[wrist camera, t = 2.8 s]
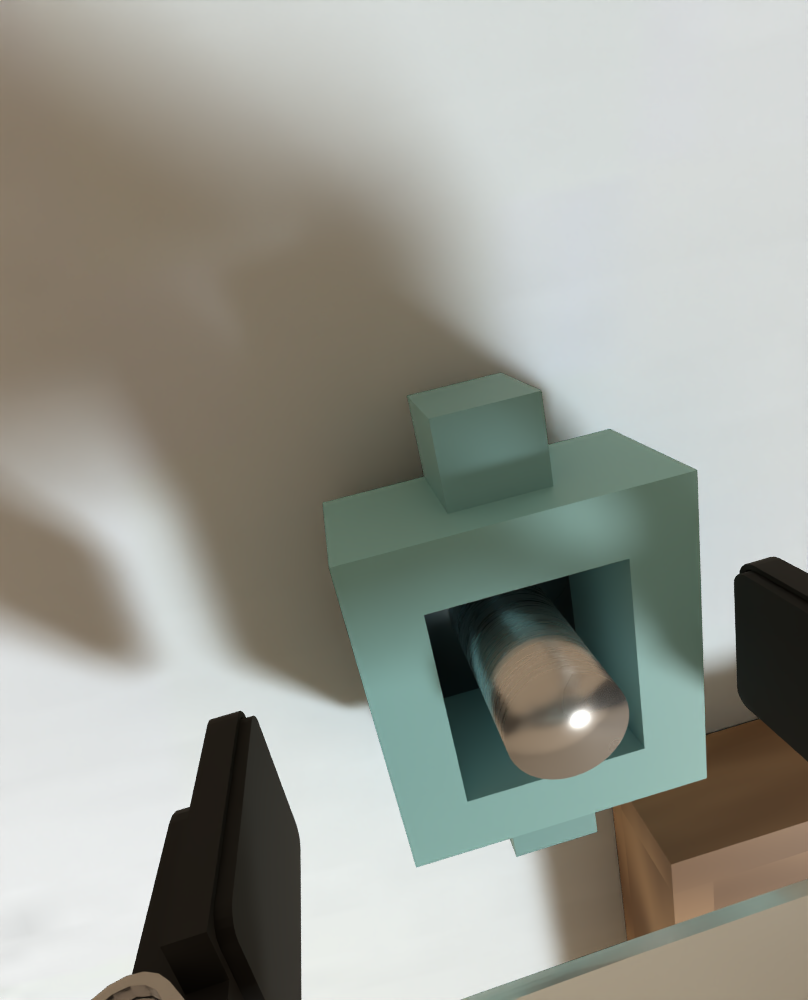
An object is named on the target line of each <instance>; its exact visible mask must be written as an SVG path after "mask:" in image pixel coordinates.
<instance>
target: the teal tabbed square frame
mask: <svg viewBox="0 0 808 1000" xmlns="http://www.w3.org/2000/svg"><path fill="white" fill-rule="evenodd" d="M407 398H408V403H409V408H410V412H411V417H412V422H413V426H414V431H415V436H416V441H417V445H418V450H419V455H420V460H421V464H422V469H423V474H424V477H421V478H417V479H413V480H409V481H405V482H401V483H397V484H393V485H390V486H386V487H382V488H378V489H374V490H370V491H366V492H362V493H358V494H355V495H351V496H347V497H343V498H339V499H335V500H331V501H327V502H323V513H324V523H325V533H326V544H327V554H328V565H329V570H330V574H331V577H332V581H333V584H334V587H335V591H336V594H337V598H338V601H339V605H340V608H341V611H342V615H343V618H344V622H345V625H346V629H347V632H348V635H349V639H350V642H351V646H352V649H353V653H354V656H355V659H356V663H357V666H358V670H359V673H360V676H361V680H362V683H363V687H364V690H365V694H366V697H367V700H368V704H369V707H370V711H371V714H372V718H373V721H374V724H375V728H376V731H377V735H378V738H379V742H380V745H381V748H382V752H383V755H384V759H385V762H386V766H387V769H388V772H389V776H390V779H391V783H392V786H393V790H394V793H395V796H396V800H397V803H398V807H399V810H400V813H401V817H402V820H403V824H404V827H405V831H406V834H407V837H408V841H409V844H410V848H411V851H412V855H413V858H414V861H415V865H416V867H419V866H423V865H426V864H429V863H432V862H436V861H439V860H442V859H445V858H449V857H452V856H455V855H458V854H462V853H465V852H468V851H471V850H475V849H478V848H481V847H485V846H488V845H491V844H494V843H498V842H501V841H504V840H507V839H510V841H511V843H512V846H513V849H514V851H515V854H516V857H518V856H521V855H524V854H527V853H531V852H534V851H537V850H540V849H544V848H547V847H550V846H553V845H556V844H560V843H563V842H566V841H569V840H573V839H576V838H579V837H582V836H586V835H589V834H592V833H595V832H597V825H596V817H595V812H598V811H602V810H605V809H608V808H611V807H615V806H618V805H621V804H624V803H628V802H631V801H634V800H638V799H641V798H644V797H647V796H651V795H654V794H657V793H660V792H664V791H667V790H670V789H673V788H677V787H680V786H683V785H686V784H690V783H693V782H696V781H699V780H703V779H706V778H707V768H706V735H705V703H704V671H703V639H702V606H701V574H700V542H699V509H698V477H697V470H696V469H694V468H692V467H690V466H687V465H685V464H683V463H681V462H679V461H677V460H675V459H673V458H671V457H668V456H666V455H664V454H662V453H660V452H658V451H656V450H654V449H652V448H649V447H647V446H645V445H643V444H641V443H639V442H637V441H635V440H632V439H630V438H628V437H626V436H624V435H622V434H620V433H618V432H616V431H613V430H611V429H608V430H604V431H600V432H596V433H592V434H588V435H584V436H580V437H576V438H573V439H569V440H565V441H561V442H557V443H553V444H549V445H548V439H547V431H546V423H545V415H544V407H543V399H542V392H541V390H539V389H537V388H534V387H532V386H530V385H528V384H525V383H523V382H521V381H519V380H516V379H514V378H512V377H510V376H508V375H505V374H503V373H497V374H493V375H489V376H485V377H481V378H477V379H473V380H469V381H465V382H461V383H457V384H453V385H449V386H445V387H440V388H436V389H432V390H428V391H424V392H420V393H416V394H412V395H408V396H407ZM568 575H569V582H570V591H571V599H572V607H573V615H574V623H575V631H576V633H577V635H578V636H579V637H580V639H581V640H582V641H583V642H584V644H585V645H586V646H587V647H588V649H589V650H590V651H591V653H592V654H593V655H594V656H595V658H596V659H597V660H598V661H599V663H600V664H601V665H602V667H603V668H604V669H605V670H606V672H607V673H608V674H609V675H610V677H611V678H612V679H613V681H614V682H615V683H616V684H617V686H618V687H619V688H620V689H621V691H622V692H623V694H624V696H625V697H626V700H627V703H628V708H629V721H628V726H627V729H626V732H625V734H624V737H623V739H622V740H621V742H620V744H619V745H618V746H617V748H616V749H615V750H614V751H613V753H612V754H611V755H610V756H609V757H608V758H606V759H605V760H604V761H603V762H602V763H600V764H599V765H597V766H596V767H594V768H593V769H591V770H589V771H587V772H585V773H583V774H580V775H577V776H574V777H570V778H565V779H555V780H550V779H541V778H537V777H534V776H531V775H529V774H527V773H525V772H523V771H522V770H520V769H519V768H518V767H517V766H516V765H515V764H514V763H513V761H512V760H511V758H510V756H509V754H508V752H507V750H506V747H505V745H504V743H503V741H502V738H501V736H500V734H499V732H498V729H497V727H496V725H495V722H494V720H493V718H492V716H491V713H490V711H489V709H488V706H487V704H486V702H485V700H484V697H483V695H482V693H481V691H480V688H478V689H474V690H471V691H467V692H464V693H460V694H457V695H453V696H450V697H446V698H443V695H442V691H441V686H440V682H439V678H438V674H437V669H436V665H435V661H434V656H433V652H432V648H431V644H430V639H429V635H428V631H427V626H426V622H425V618H424V615H426V614H429V613H433V612H437V611H440V610H444V609H448V608H451V607H455V606H459V605H462V604H466V603H469V602H473V601H477V600H480V599H484V598H488V597H491V596H495V595H499V594H502V593H506V592H509V591H513V590H517V589H520V588H524V587H528V586H531V585H535V584H539V583H542V582H546V581H549V580H553V579H557V578H560V577H564V576H568Z"/></svg>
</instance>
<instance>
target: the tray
mask: <svg viewBox="0 0 808 1000" xmlns="http://www.w3.org/2000/svg"><path fill="white" fill-rule="evenodd" d="M706 768H707V778H706V779H703V780H699V781H696V782H693V783H690V784H686V785H683V786H680V787H677V788H673V789H670V790H667V791H664V792H660V793H657V794H654V795H651V796H647V797H644V798H641V799H638V800H634V801H631V802H628V803H624V804H621V805H618V806H615V807H613V816H614V825H615V834H616V843H617V852H618V861H619V870H620V879H621V888H622V897H623V906H624V915H625V924H626V933H627V941H629V940H632V939H635V938H638V937H640V936H643V935H646V934H649V933H652V932H655V931H658V930H661V929H664V928H666V927H669V926H672V925H675V924H678V923H681V922H684V921H687V920H690V919H692V918H695V917H698V916H701V915H704V914H707V913H710V912H713V911H716V910H718V909H721V908H724V907H727V906H730V905H733V904H736V903H739V902H742V901H745V900H748V899H750V898H753V897H756V896H759V895H762V894H765V893H768V892H771V891H774V890H777V889H780V888H782V887H785V886H788V885H791V884H794V883H797V882H800V881H803V880H806V879H808V762H807V761H806V760H805V759H804V758H803V757H802V756H801V755H800V754H798V753H797V752H796V751H795V750H794V749H793V748H792V747H791V746H789V745H788V744H787V743H786V742H785V741H784V740H783V739H782V738H781V737H779V736H778V735H777V734H776V733H775V732H774V731H773V730H772V729H770V728H769V727H768V726H767V725H766V724H765V723H764V722H763V721H762V720H760V719H758V720H754V721H751V722H748V723H744V724H741V725H738V726H734V727H731V728H728V729H725V730H721V731H718V732H715V733H711V734H708V735H706Z"/></svg>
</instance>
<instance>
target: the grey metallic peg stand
mask: <svg viewBox="0 0 808 1000" xmlns="http://www.w3.org/2000/svg"><path fill="white" fill-rule="evenodd" d="M424 618H425V622H426V626H427V631H428V635H429V639H430V644H431V648H432V652H433V656H434V661H435V665H436V669H437V674H438V678H439V682H440V686H441V691H442V695H443V698H446V697H450V696H453V695H457V694H460V693H464V692H467V691H471V690H474V689H478V688H480V691H481V693H482V695H483V697H484V700H485V702H486V704H487V706H488V709H489V711H490V713H491V716H492V718H493V720H494V722H495V725H496V727H497V729H498V732H499V734H500V736H501V738H502V741H503V743H504V745H505V747H506V750H507V752H508V754H509V756H510V758H511V760H512V761H513V763H514V764H515V765H516V766H517V767H518V768H519V769H520V770H522V771H523V772H525V773H527V774H529V775H531V776H534V777H537V778H541V779H550V780H555V779H565V778H570V777H574V776H577V775H580V774H583V773H585V772H587V771H589V770H591V769H593V768H594V767H596V766H597V765H599V764H600V763H602V762H603V761H604V760H605V759H606V758H608V757H609V756H610V755H611V754H612V753H613V751H614V750H615V749H616V748H617V746H618V745H619V744H620V742H621V740H622V739H623V737H624V734H625V732H626V729H627V726H628V721H629V708H628V703H627V700H626V697H625V696H624V694H623V692H622V691H621V689H620V688H619V687H618V686H617V684H616V683H615V682H614V681H613V679H612V678H611V677H610V675H609V674H608V673H607V672H606V670H605V669H604V668H603V667H602V665H601V664H600V663H599V661H598V660H597V659H596V658H595V656H594V655H593V654H592V653H591V651H590V650H589V649H588V647H587V646H586V645H585V644H584V642H583V641H582V640H581V639H580V637H579V636H578V635H577V633H576V631H575V623H574V615H573V607H572V599H571V591H570V582H569V575H568V576H564V577H560V578H557V579H553V580H549V581H546V582H542V583H539V584H535V585H531V586H528V587H524V588H520V589H517V590H513V591H509V592H506V593H502V594H499V595H495V596H491V597H488V598H484V599H480V600H477V601H473V602H469V603H466V604H462V605H459V606H455V607H451V608H448V609H444V610H440V611H437V612H433V613H429V614H426V615H424Z"/></svg>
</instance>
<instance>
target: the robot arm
mask: <svg viewBox="0 0 808 1000" xmlns="http://www.w3.org/2000/svg"><path fill="white" fill-rule="evenodd" d="M734 597H735V630H736V662H737V688H738V693H739V696H740V698H741V700H742V702H743V703H744V704H745V706H746V707H747V708H748V709H749V710H750V711H751V712H753V713H754V714H755V715H756V716H757V717H758V718H759V719H760V720H762V721H763V722H764V723H765V724H766V725H767V726H768V727H769V728H770V729H772V730H773V731H774V732H775V733H776V734H777V735H778V736H779V737H781V738H782V739H783V740H784V741H785V742H786V743H787V744H788V745H789V746H791V747H792V748H793V749H794V750H795V751H796V752H797V753H798V754H800V755H801V756H802V757H803V758H804V759H805V760H806V761H807V762H808V573H806V572H804V571H803V570H801V569H799V568H797V567H795V566H793V565H791V564H789V563H787V562H785V561H784V560H782V559H780V558H777V557H769V558H765V559H762V560H759V561H755V562H752V563H748V564H745V565H744V566H742V567H741V569H740V574H738V575H737V576H736V577H735V579H734ZM91 1000H301V865H300V839H299V833H298V829H297V825H296V822H295V820H294V817H293V814H292V812H291V809H290V806H289V804H288V801H287V798H286V795H285V793H284V790H283V787H282V785H281V782H280V779H279V777H278V774H277V771H276V768H275V766H274V763H273V760H272V758H271V755H270V752H269V750H268V747H267V744H266V742H265V739H264V736H263V733H262V731H261V728H260V725H259V723H258V720H257V718H256V717H255V716H251V717H247V718H246V717H245V715H244V713H243V712H242V711H238V712H235V713H231V714H228V715H224V716H221V717H218V718H214V719H211V720H210V721H209V722H208V725H207V729H206V734H205V739H204V744H203V748H202V753H201V758H200V762H199V767H198V772H197V776H196V781H195V786H194V790H193V795H192V800H191V804H190V807H188V808H185V809H181V810H178V811H176V812H175V813H174V814H173V815H172V818H171V820H170V823H169V827H168V831H167V835H166V839H165V843H164V847H163V851H162V855H161V859H160V863H159V867H158V871H157V875H156V880H155V884H154V888H153V892H152V896H151V900H150V904H149V908H148V912H147V916H146V920H145V924H144V928H143V932H142V936H141V940H140V944H139V948H138V952H137V956H136V961H135V965H134V969H133V973H132V975H128V976H125V977H123V978H122V979H120V980H118V981H116V982H114V983H112V984H110V985H109V986H107V987H106V988H105V989H104V990H102V991H101V992H100V993H99V994H98V995H96V996H95V997H94V998H93V999H91ZM461 1000H808V879H806V880H803V881H800V882H797V883H794V884H791V885H788V886H785V887H782V888H780V889H777V890H774V891H771V892H768V893H765V894H762V895H759V896H756V897H753V898H750V899H748V900H745V901H742V902H739V903H736V904H733V905H730V906H727V907H724V908H721V909H718V910H716V911H713V912H710V913H707V914H704V915H701V916H698V917H695V918H692V919H690V920H687V921H684V922H681V923H678V924H675V925H672V926H669V927H666V928H664V929H661V930H658V931H655V932H652V933H649V934H646V935H643V936H640V937H638V938H635V939H632V940H629V941H626V942H623V943H620V944H617V945H615V946H612V947H609V948H606V949H603V950H600V951H597V952H595V953H592V954H589V955H586V956H583V957H580V958H578V959H575V960H572V961H569V962H566V963H563V964H561V965H558V966H555V967H552V968H549V969H546V970H543V971H541V972H538V973H535V974H532V975H529V976H526V977H524V978H521V979H518V980H515V981H512V982H509V983H507V984H504V985H501V986H498V987H495V988H492V989H489V990H487V991H484V992H481V993H478V994H475V995H472V996H470V997H467V998H464V999H461Z"/></svg>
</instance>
